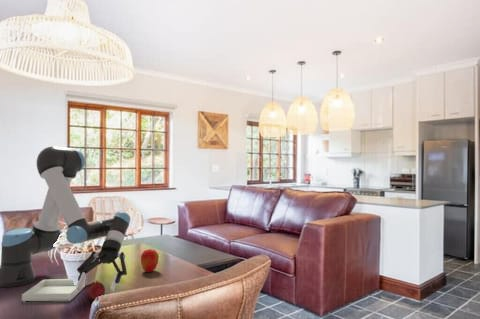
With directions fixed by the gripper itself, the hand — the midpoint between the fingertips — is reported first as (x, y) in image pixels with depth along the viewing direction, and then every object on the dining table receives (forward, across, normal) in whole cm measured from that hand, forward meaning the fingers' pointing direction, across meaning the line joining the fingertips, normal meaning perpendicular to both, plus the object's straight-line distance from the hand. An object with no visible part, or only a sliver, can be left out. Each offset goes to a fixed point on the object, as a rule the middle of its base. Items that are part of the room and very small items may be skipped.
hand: (94, 290), depth 130 cm
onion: (+2, 0, -5) cm, 6 cm away
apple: (-26, -8, -33) cm, 43 cm away
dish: (-2, +20, -9) cm, 22 cm away
